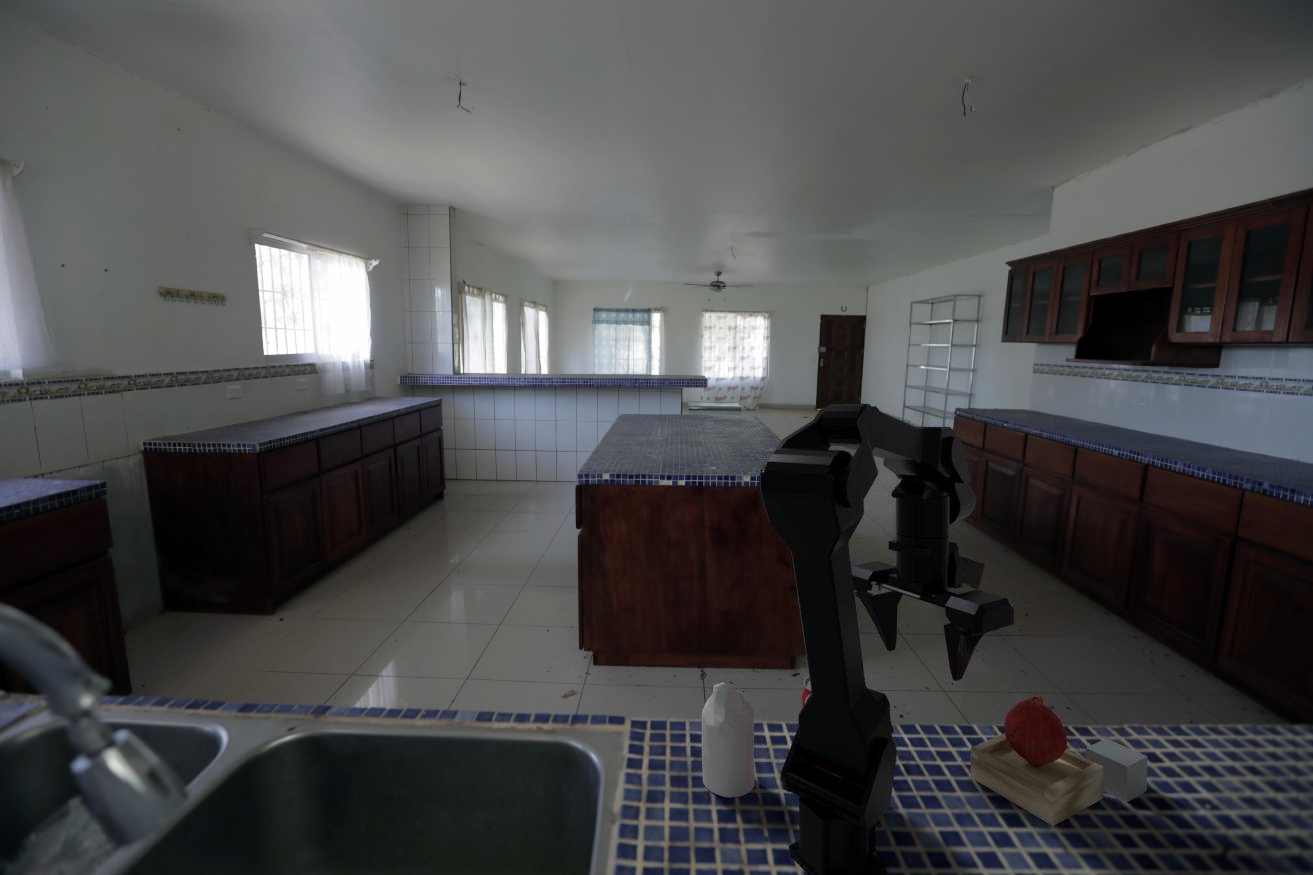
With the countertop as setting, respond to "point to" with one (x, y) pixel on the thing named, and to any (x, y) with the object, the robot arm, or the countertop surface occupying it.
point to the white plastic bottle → (728, 743)
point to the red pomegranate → (1035, 732)
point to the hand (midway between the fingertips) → (922, 664)
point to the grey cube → (1120, 769)
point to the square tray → (1038, 780)
